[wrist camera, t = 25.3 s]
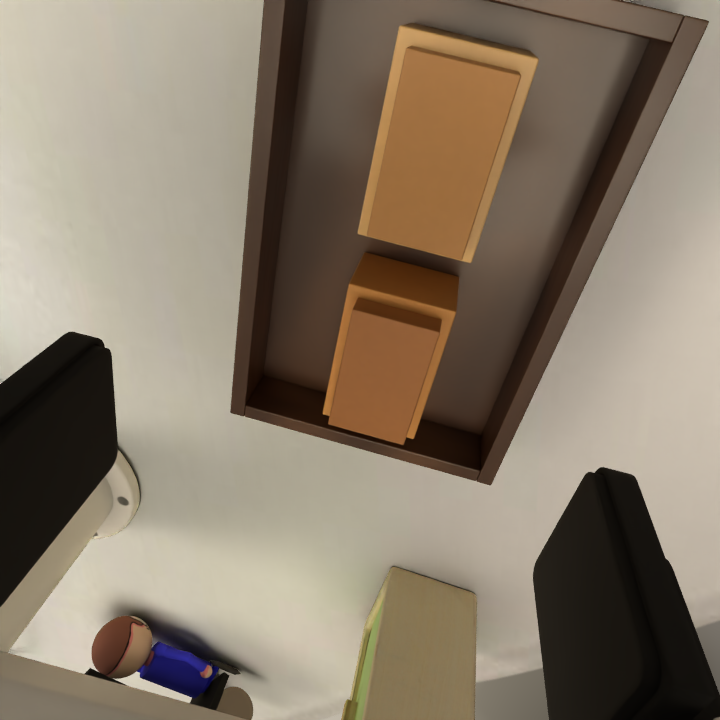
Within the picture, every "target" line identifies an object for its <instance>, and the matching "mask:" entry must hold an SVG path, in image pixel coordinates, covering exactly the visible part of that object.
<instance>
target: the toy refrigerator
mask: <svg viewBox="0 0 720 720" xmlns="http://www.w3.org/2000/svg"><path fill="white" fill-rule="evenodd" d="M476 624H477V599H476V596H475V594H474V593H472V592H469V591H466V590H463V589H460V588H457V587H454V586H451V585H448V584H445V583H442V582H439V581H436V580H433V579H430V578H427V577H424V576H421V575H418V574H415V573H412V572H409V571H406V570H403V569H400V568H396V567H392V568H391V569H390V571H389V573H388V575H387V577H386V579H385V581H384V584H383V586H382V588H381V590H380V592H379V594H378V597H377V599H376V601H375V603H374V605H373V608H372V610H371V612H370V614H369V616H368V618H367V621H366V623H365V626H364V631H363V636H362V641H361V646H360V651H359V656H358V661H357V666H356V671H355V676H354V681H353V686H352V691H351V696H350V700H346V702H345V705H344V709H343V714H342V719H341V720H475V678H476Z"/></svg>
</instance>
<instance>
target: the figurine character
mask: <svg viewBox="0 0 720 720" xmlns="http://www.w3.org/2000/svg"><path fill="white" fill-rule="evenodd" d="M92 660H93V663H94V666H95V667H96V669H97V670H98V671H99V672H100V673H99V672H97V671H95V670H93V669H91V668H90V669H89V670H88V671H87V672H86V673H85V675H89V676H93V677H96V678H100V679H104V680H107V681H111V682H114V683H118V684H122V685H125V684H123V683H121V682H119V681H116V680H114V679H112V678H115V679H117V678H124V677H127V676H130V675H132V674H133V673H135V672H136V671H137V672H140V678H142V679H145V680H148V681H150V682H153V683H155V684H158V685H161V686H163V687H166V688H169V689H171V690H174V691H176V692H179V693H182V694H184V695H187V696H189V697H192V700H191V702H190V704H193V705H197V706H200V707H204V708H208V709H211V710H215V711H218V712H222V713H225V714H229V715H233V716H236V717H240V718H243V719H247V720H251V719H252V716H253V705H252V701H251V699H250V697H249V695H248V694H247V693H246V692H245V691H244V690H242V689H241V688H238V687H229V688H226V689H225V690H224V688H225V686H226V683H227V680H228V678H229V675H228V674H226V673H222V674H221V675H220V676H218V675H216V674H217V672H218V670H219V668H220V669H222V670H225V671H227V672H230V673H232V674H234V675H236V674H241V673H240V672H239V671H238V670H237V669H236V668H233V667H231V666H228V665H226V664H223V663H221V662H218V661H216V660H215V661H210V662H208V661H205V660H203V659H201V658H198V657H196V656H195V655H193V654H192V653H191V652H186V651H181V650H179V649H176V648H174V647H171V646H169V645H166V644H164V643H161V642H159V641H158V642H157V643H156V644H155V645H154V646H153V647H152V634H151V631H150V629H149V627H148V625H147V624H146V623H145V622H144V621H143V620H141V619H140V618H137V617H134V616H121V617H117V618H115V619H113V620H111V621H109V622H108V623H107V624H105V625H104V626H103V627H102V628H101V630H100V631H99V632H98V634H97V635H96V637H95V639H94V642H93V646H92ZM211 664H212V665H213V667H212V665H211ZM125 686H127V685H125Z"/></svg>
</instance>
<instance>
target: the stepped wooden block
mask: <svg viewBox="0 0 720 720" xmlns="http://www.w3.org/2000/svg"><path fill="white" fill-rule="evenodd" d="M538 62H539V58H538V57H536V56H535V55H534V54H533V53H532V52H531V51H530V50H526V49H521V48H517V47H513V46H509V45H505V44H500V43H496V42H492V41H488V40H484V39H479V38H475V37H471V36H467V35H463V34H459V33H454V32H450V31H446V30H442V29H438V28H433V27H429V26H425V25H421V24H417V23H409V24H405V25H400V26H399V30H398V35H397V40H396V44H395V49H394V54H393V59H392V64H391V69H390V74H389V79H388V84H387V89H386V94H385V99H384V104H383V109H382V114H381V119H380V124H379V129H378V134H377V139H376V144H375V149H374V154H373V159H372V164H371V169H370V174H369V179H368V184H367V189H366V193H365V198H364V203H363V208H362V213H361V218H360V223H359V228H358V234H360V235H364V236H367V237H371V238H375V239H379V240H383V241H387V242H391V243H394V244H398V245H402V246H406V247H410V248H414V249H418V250H421V251H425V252H429V253H433V254H437V255H441V256H445V257H448V258H452V259H456V260H460V261H464V262H468V263H471V262H472V260H473V257H474V254H475V251H476V248H477V245H478V242H479V239H480V236H481V233H482V230H483V227H484V224H485V221H486V218H487V215H488V212H489V209H490V206H491V203H492V200H493V197H494V194H495V191H496V188H497V185H498V182H499V179H500V176H501V173H502V170H503V167H504V164H505V161H506V158H507V155H508V152H509V149H510V146H511V143H512V140H513V137H514V134H515V131H516V128H517V125H518V122H519V119H520V116H521V113H522V110H523V107H524V104H525V101H526V98H527V95H528V92H529V89H530V86H531V83H532V80H533V77H534V74H535V71H536V68H537V65H538Z"/></svg>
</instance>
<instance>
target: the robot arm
mask: <svg viewBox="0 0 720 720" xmlns="http://www.w3.org/2000/svg"><path fill="white" fill-rule="evenodd" d="M139 500H140V491H139V487H138V483H137V479H136V477H135V475H134V473H133V471H132V468H131V466H130V465H129V464H128V462H127V461H126V459H125V458H124V456H123V455H122V454H121V452H120V451H119V450H118V444H117V429H116V414H115V399H114V385H113V370H112V356H111V352H110V350H109V349H108V348H105V347H104V343H103V341H102V340H101V339H99V338H95V337H91V336H87V335H83V334H79V333H76V332H68V333H66V334H64V335H63V336H62V337H60V338H59V339H58V340H57V341H55V342H54V343H53V344H51V345H50V346H49V347H48V348H46V349H45V350H44V351H42V352H41V353H40V354H39V355H37V356H36V357H35V358H33V359H32V360H31V361H30V362H28V363H27V364H26V365H24V366H23V367H22V368H20V369H19V370H18V371H17V372H15V373H14V374H13V375H11V376H10V377H9V378H8V379H6V380H5V381H4V382H2V383H1V384H0V720H247V719H243V718H240V717H236V716H233V715H229V714H225V713H222V712H218V711H215V710H211V709H208V708H204V707H200V706H197V705H193V704H190V703H186V702H183V701H179V700H176V699H172V698H168V697H165V696H161V695H158V694H154V693H151V692H147V691H143V690H140V689H136V688H133V687H129V686H125V685H122V684H118V683H114V682H111V681H107V680H104V679H100V678H96V677H93V676H89V675H85V674H82V673H78V672H75V671H71V670H67V669H64V668H60V667H56V666H53V665H49V664H46V663H42V662H38V661H35V660H31V659H27V658H24V657H20V656H17V655H13V654H9V653H7V652H8V651H9V650H10V648H11V647H12V645H13V644H14V643H15V641H16V640H17V639H18V637H19V636H20V635H21V633H22V632H23V631H24V629H25V628H26V627H27V625H28V624H29V622H30V621H31V620H32V618H33V617H34V616H35V614H36V613H37V612H38V610H39V609H40V608H41V606H42V605H43V603H44V602H45V601H46V599H47V598H48V597H49V595H50V594H51V593H52V591H53V590H54V589H55V587H56V586H57V585H58V583H59V582H60V580H61V579H62V578H63V576H64V575H65V574H66V572H67V571H68V570H69V568H70V567H71V566H72V564H73V563H74V561H75V560H76V559H77V557H78V556H79V555H80V553H81V552H82V551H83V549H84V548H85V547H86V545H87V544H88V543H89V541H90V540H91V539H98V538H104V537H109V536H112V535H114V534H116V533H118V532H120V531H122V530H123V529H124V528H125V527H126V526H127V525H128V524H129V522H130V521H131V519H132V518H133V516H134V515H135V513H136V512H137V509H138V506H139ZM533 583H534V592H535V601H536V610H537V618H538V627H539V636H540V645H541V653H542V662H543V671H544V680H545V688H546V697H547V706H548V715H549V720H720V695H719V692H718V690H717V686H716V684H715V681H714V678H713V676H712V673H711V670H710V668H709V665H708V662H707V660H706V657H705V654H704V651H703V649H702V646H701V643H700V641H699V638H698V635H697V632H696V630H695V627H694V624H693V622H692V619H691V616H690V614H689V611H688V608H687V606H686V603H685V600H684V598H683V595H682V592H681V589H680V587H679V584H678V581H677V579H676V576H675V573H674V571H673V568H672V566H671V565H670V563H669V561H668V560H667V559H666V558H665V556H664V553H663V551H662V548H661V545H660V542H659V540H658V537H657V534H656V531H655V529H654V526H653V523H652V520H651V518H650V515H649V512H648V509H647V507H646V504H645V501H644V498H643V496H642V493H641V490H640V488H639V485H638V482H637V480H636V478H635V477H634V476H633V475H631V474H628V473H624V472H620V471H616V470H612V469H608V468H604V467H601V468H599V469H598V470H597V471H596V472H595V473H592V472H588V473H586V475H585V476H584V477H583V479H582V481H581V483H580V485H579V486H578V488H577V490H576V492H575V493H574V495H573V497H572V499H571V500H570V502H569V504H568V506H567V507H566V509H565V511H564V513H563V515H562V516H561V518H560V520H559V522H558V523H557V525H556V527H555V529H554V530H553V532H552V534H551V536H550V538H549V539H548V541H547V543H546V545H545V546H544V548H543V550H542V552H541V553H540V555H539V557H538V559H537V561H536V563H535V566H534V572H533Z"/></svg>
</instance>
